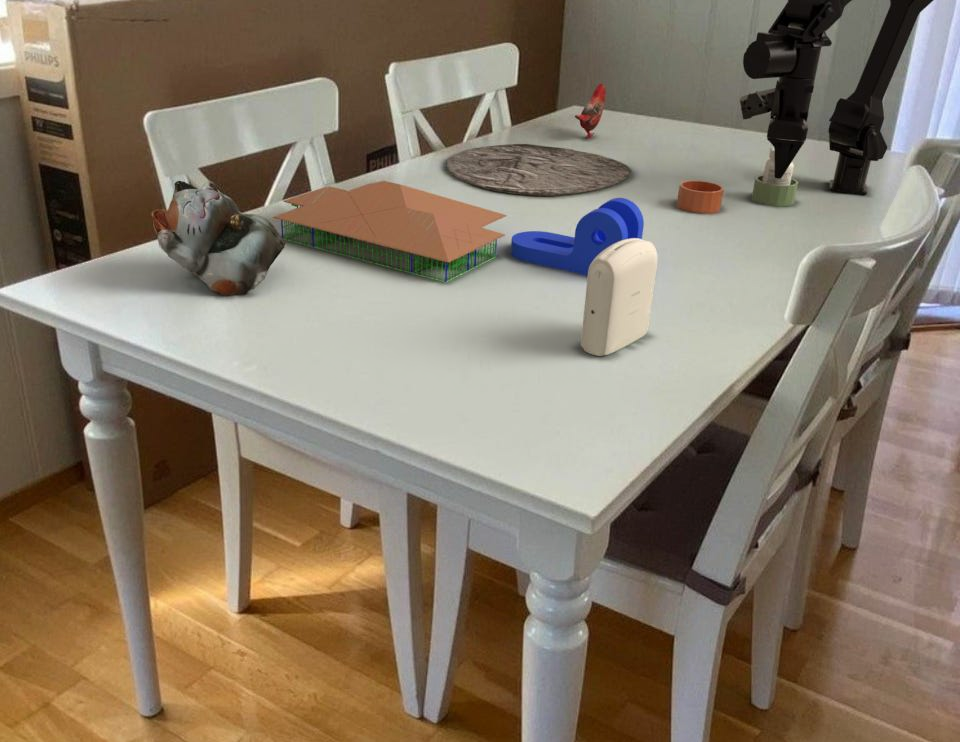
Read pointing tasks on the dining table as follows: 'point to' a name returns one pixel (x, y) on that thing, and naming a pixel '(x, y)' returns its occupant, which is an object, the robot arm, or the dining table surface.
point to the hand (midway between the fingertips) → (778, 171)
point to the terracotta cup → (700, 196)
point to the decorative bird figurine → (593, 110)
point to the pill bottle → (770, 172)
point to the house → (396, 223)
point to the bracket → (581, 238)
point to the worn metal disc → (536, 169)
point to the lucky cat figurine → (217, 239)
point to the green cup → (774, 193)
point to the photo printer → (618, 296)
